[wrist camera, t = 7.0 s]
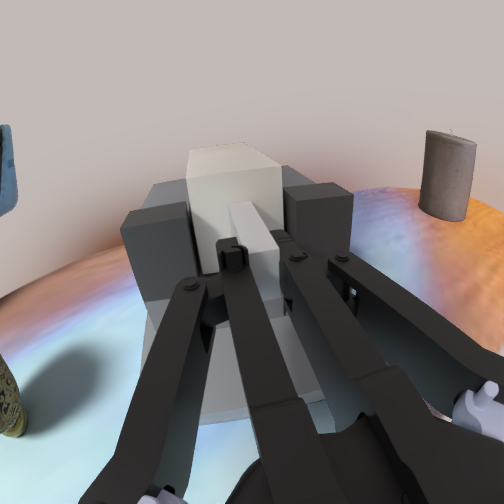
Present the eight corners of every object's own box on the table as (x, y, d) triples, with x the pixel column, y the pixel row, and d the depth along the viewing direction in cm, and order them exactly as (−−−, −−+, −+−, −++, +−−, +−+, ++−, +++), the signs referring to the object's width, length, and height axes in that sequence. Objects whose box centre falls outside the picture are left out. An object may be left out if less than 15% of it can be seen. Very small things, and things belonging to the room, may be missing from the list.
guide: (392, 373, 16) (441, 240, 11) (146, 428, 14) (60, 307, 9) (291, 230, 37) (289, 151, 32) (163, 250, 35) (145, 171, 29)
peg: (284, 260, 20) (281, 166, 17) (203, 274, 20) (185, 178, 16) (249, 200, 32) (244, 142, 29) (198, 208, 32) (189, 149, 28)
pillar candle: (410, 208, 41) (418, 122, 34) (427, 197, 46) (434, 123, 39) (460, 228, 34) (474, 135, 27) (469, 212, 39) (480, 135, 32)
